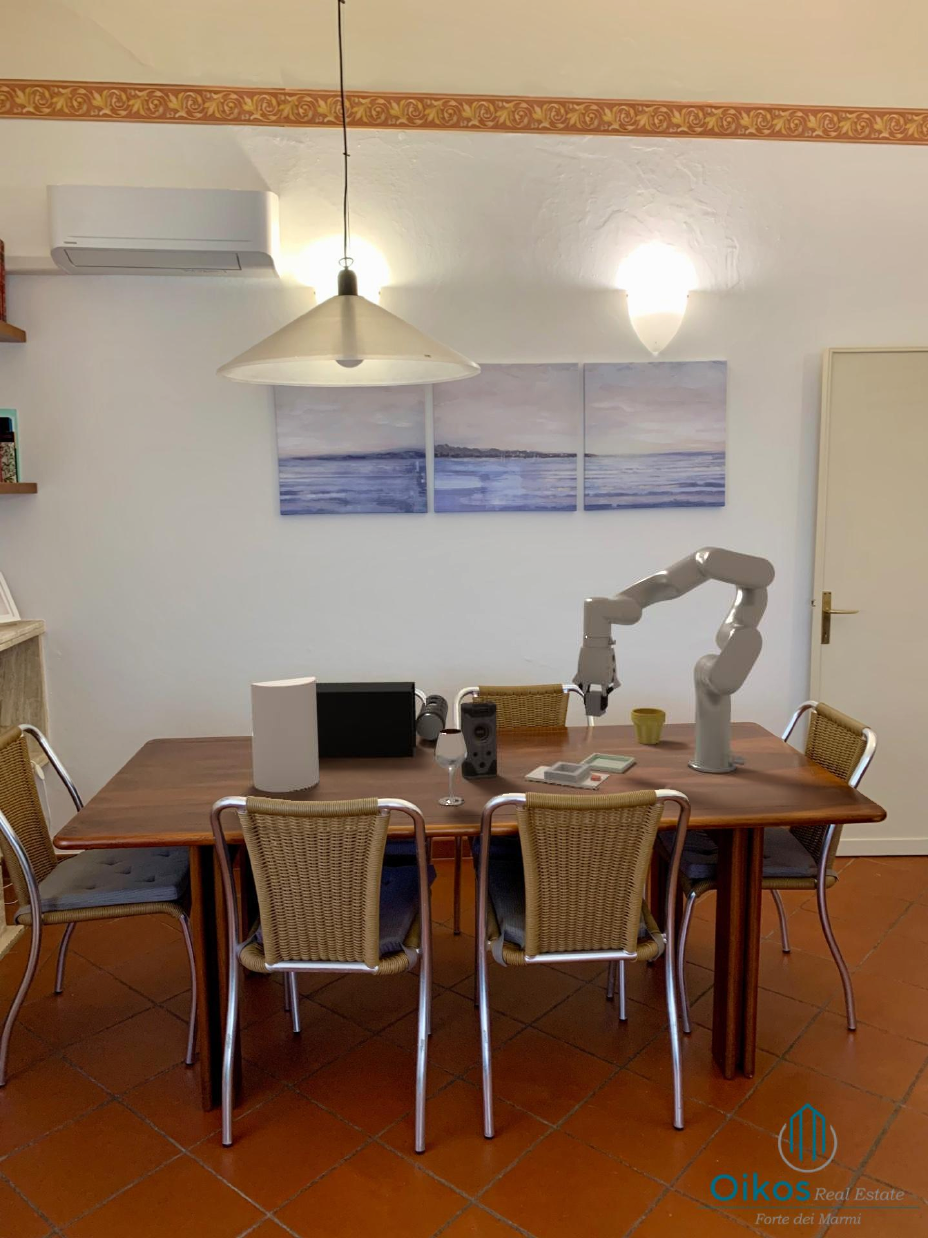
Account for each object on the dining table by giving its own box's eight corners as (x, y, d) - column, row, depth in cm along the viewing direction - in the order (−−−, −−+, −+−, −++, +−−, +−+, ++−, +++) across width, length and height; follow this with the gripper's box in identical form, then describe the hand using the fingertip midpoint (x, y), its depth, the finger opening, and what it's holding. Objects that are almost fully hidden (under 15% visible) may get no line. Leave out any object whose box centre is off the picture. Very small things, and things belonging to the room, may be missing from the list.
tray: (634, 764, 257) (634, 757, 257) (621, 776, 247) (621, 768, 247) (594, 759, 263) (594, 753, 263) (579, 770, 253) (579, 763, 252)
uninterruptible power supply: (412, 758, 267) (411, 691, 265) (298, 759, 267) (295, 693, 265) (416, 744, 283) (415, 681, 281) (308, 745, 284) (306, 682, 281)
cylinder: (328, 785, 242) (325, 681, 239) (265, 796, 234) (260, 689, 230) (306, 769, 257) (302, 671, 254) (245, 779, 249) (241, 678, 245)
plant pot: (636, 736, 289) (636, 706, 288) (668, 739, 284) (669, 708, 283) (627, 744, 280) (627, 712, 278) (660, 747, 275) (660, 715, 274)
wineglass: (467, 796, 232) (466, 727, 229) (468, 806, 223) (467, 735, 221) (435, 797, 231) (433, 727, 229) (435, 807, 223) (433, 735, 221)
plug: (605, 712, 251) (606, 691, 251) (599, 717, 247) (599, 695, 246) (592, 711, 253) (592, 690, 252) (585, 715, 249) (585, 693, 248)
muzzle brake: (449, 723, 310) (448, 693, 309) (445, 744, 282) (444, 712, 281) (421, 723, 310) (420, 693, 309) (414, 745, 283) (414, 712, 281)
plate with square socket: (609, 778, 245) (609, 767, 244) (595, 790, 235) (595, 778, 235) (541, 769, 254) (541, 758, 254) (524, 780, 245) (524, 769, 244)
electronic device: (465, 780, 245) (464, 707, 243) (460, 773, 251) (459, 702, 248) (498, 776, 248) (498, 704, 245) (492, 770, 253) (491, 700, 251)
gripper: (630, 643, 247) (629, 709, 249) (573, 638, 255) (572, 703, 257) (621, 646, 240) (620, 714, 243) (563, 642, 249) (562, 708, 251)
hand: (595, 708), depth 250 cm, fingers closed on plug, 3 cm apart
